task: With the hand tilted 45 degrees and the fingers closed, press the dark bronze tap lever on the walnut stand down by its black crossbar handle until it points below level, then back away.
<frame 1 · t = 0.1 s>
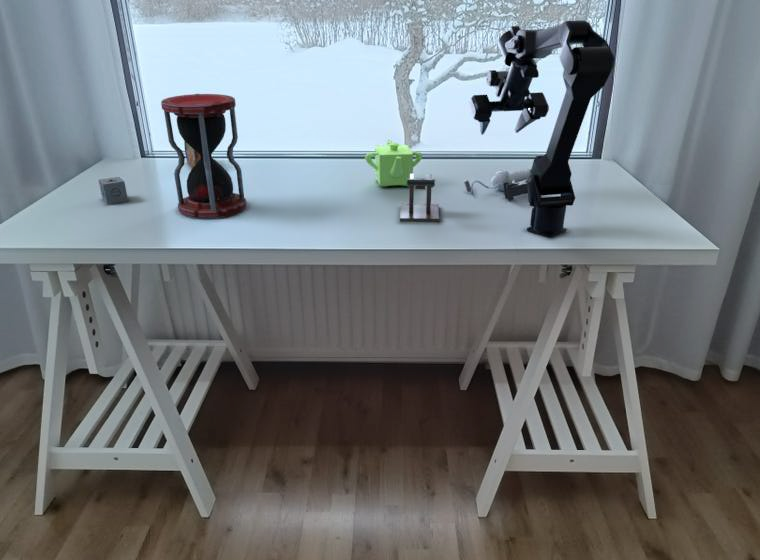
hand: (498, 132, 165), 15 cm above the table, tool tilted 35°, fingers open, 9 cm apart
teapot: (393, 184, 178), on the table
hourglass: (213, 209, 160), on the table
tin: (195, 167, 193), on the table
tap lever: (420, 183, 147), point 9 cm above the table, hinge at 18.0°
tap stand: (419, 215, 155), on the table
dice cube: (115, 201, 165), on the table
clip-on lamp: (498, 194, 170), on the table
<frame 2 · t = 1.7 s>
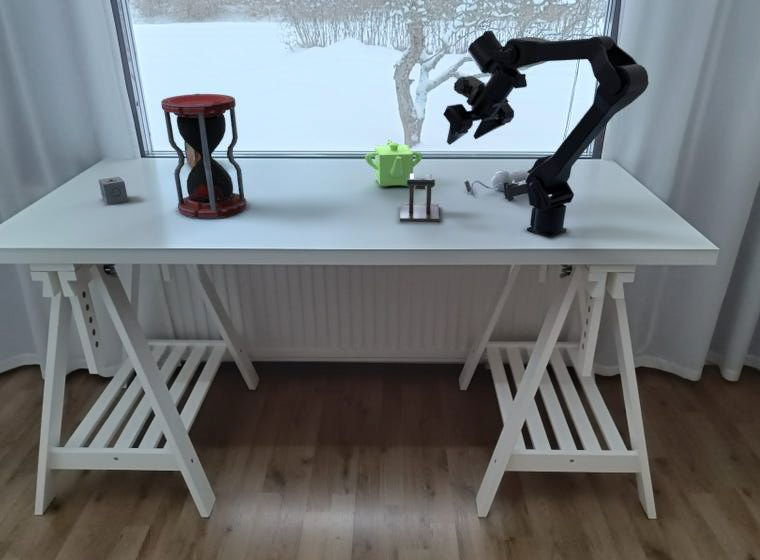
hand: (461, 140, 156), 15 cm above the table, tool tilted 35°, fingers open, 9 cm apart
nothing on the table moved.
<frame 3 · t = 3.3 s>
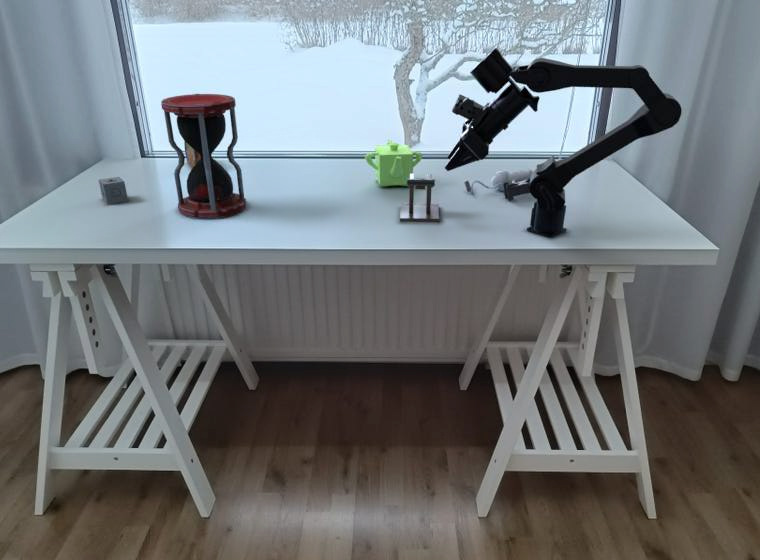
hand: (447, 163, 143), 14 cm above the table, tool tilted 45°, fingers open, 9 cm apart
nothing on the table moved.
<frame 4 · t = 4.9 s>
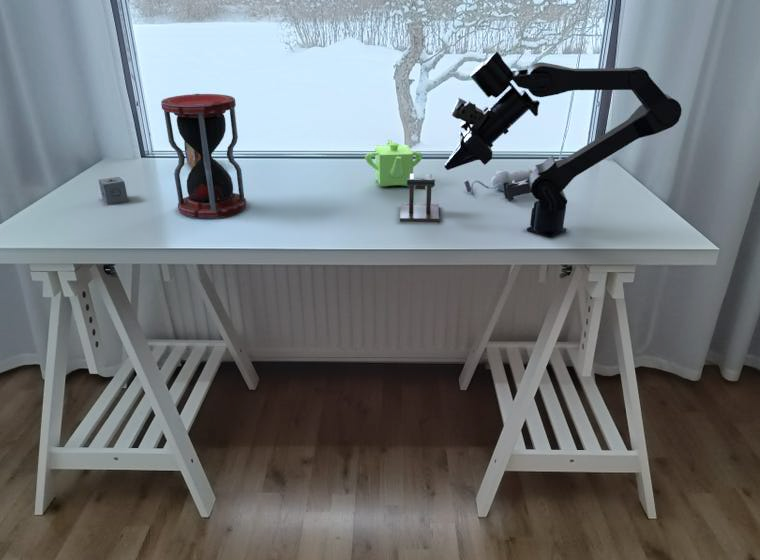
hand: (445, 168, 141), 13 cm above the table, tool tilted 45°, fingers closed
nothing on the table moved.
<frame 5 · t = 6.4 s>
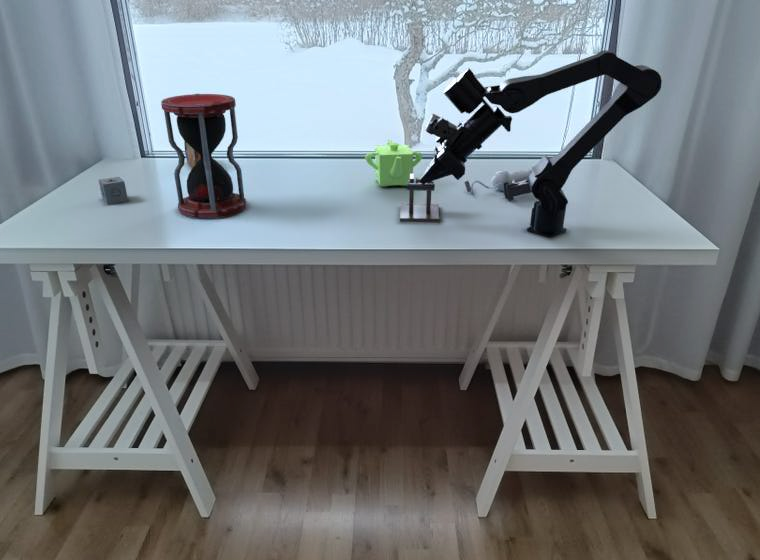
hand: (420, 182, 142), 10 cm above the table, tool tilted 45°, fingers closed
tap lever: (420, 185, 147), point 8 cm above the table, hinge at 12.0°, touching gripper
everything else where it was.
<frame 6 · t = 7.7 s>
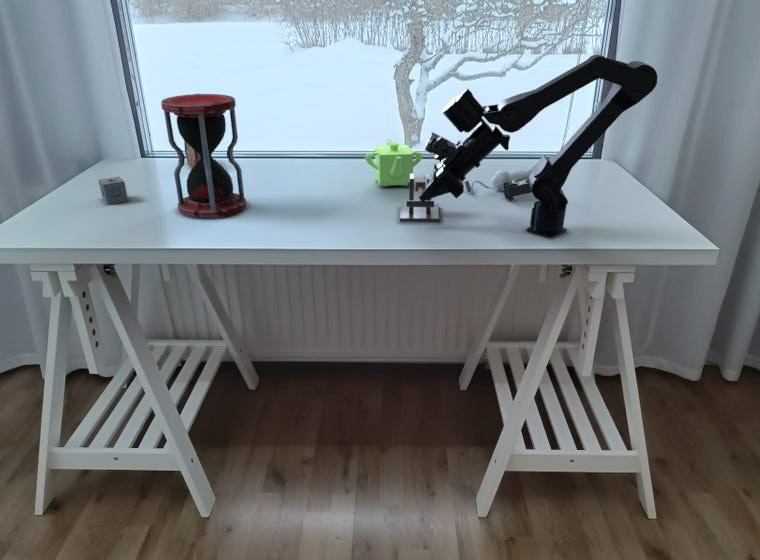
hand: (420, 199, 144), 7 cm above the table, tool tilted 45°, fingers closed, pressing on tap lever
tap lever: (420, 193, 148), point 7 cm above the table, hinge at -11.9°, touching gripper
everything else where it was.
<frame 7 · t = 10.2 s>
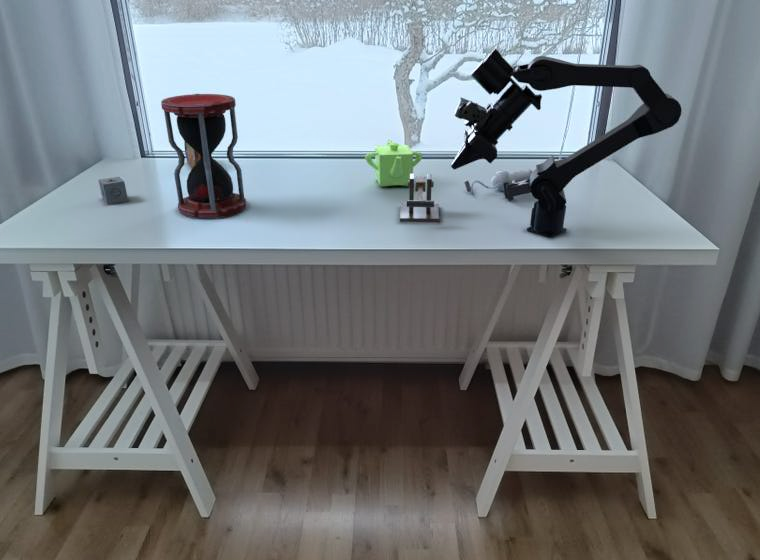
hand: (452, 167, 142), 13 cm above the table, tool tilted 40°, fingers closed
tap lever: (420, 193, 148), point 7 cm above the table, hinge at -11.9°
everything else where it was.
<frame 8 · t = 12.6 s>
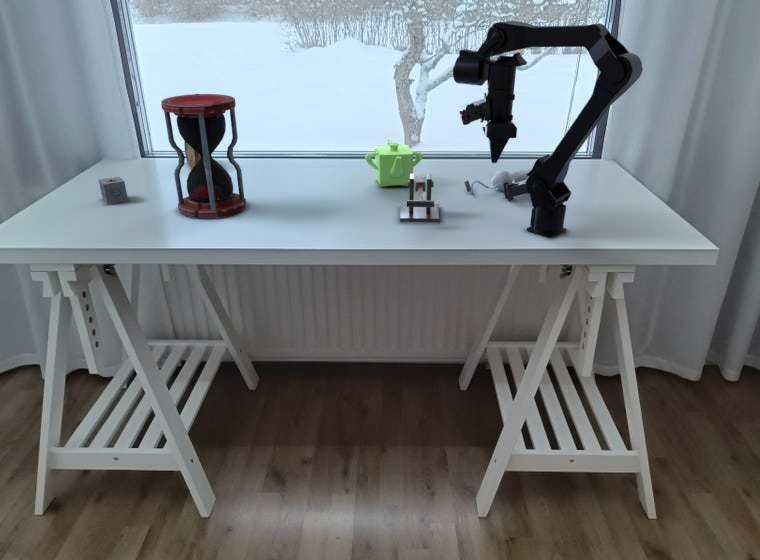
hand: (493, 162, 147), 13 cm above the table, tool pointing down, fingers closed
nothing on the table moved.
at the end: tap lever at -12° (first picture: +18°) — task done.
